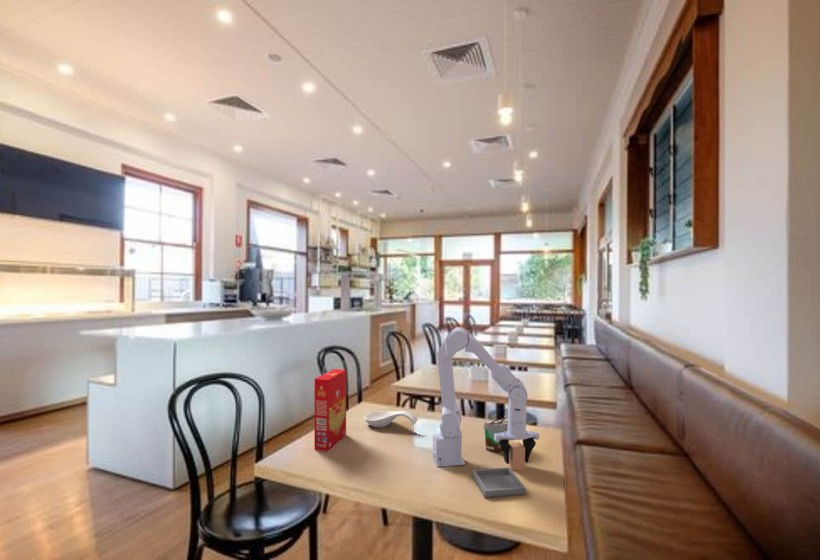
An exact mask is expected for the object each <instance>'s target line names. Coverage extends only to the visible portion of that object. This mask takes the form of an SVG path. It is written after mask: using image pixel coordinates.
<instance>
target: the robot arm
mask: <svg viewBox="0 0 820 560" xmlns="http://www.w3.org/2000/svg"><path fill="white" fill-rule="evenodd" d="M462 350H464V352H465V353H471V354H474V355H475V356H476V357H477V358H478V359H479V360H480V361H481V362H482V363H483V365H485V366H486V367H487V368H488V370H490V377H491V378H492V379H493V380H494V381H495V383H497V385H498V386H499V387H500V388H501V390H503V391H504V392H505V393H507V395H508V405H507V417H508V431H505V432H501V433H496V434H494V440H495V441H496V442H499V443H500V446H501V448H502V451H503V452H502V453H503V459H504V462H505V463H506V465H508V464H509V452H510V447H511V445H510V444H509V443H510V441H522V445H523V446H524V447H525V464H526V463H529V460H530V456H531V454H532V452H533V450H534V448H535V446H536V445H537V444H536V443H537V442H536V441H535V440H540V433H539V432H538V430H537V431H536V430H535V431H533V430H527V406H526V405H527V400H528V397H529V395H528V392H527V389H526V385H525V384H524V383H523V381H521V379H520V378H519V377H516V376H515V375H514V374H513V372H512V371H510V370H511V368H510V367H509V365H505V364H504V363H498V362H497V361H496V360H495V359H494V358H493V356H492V355H491V354H490V353H489V352H488V350H487V349H486V348H485V347H484V346H483V345H482V343H481V342H480V341H479V340H478V339H477V338H476V337H475V336H474V335H473V334H472V333H469V332H468V330H467V329H466V328H465V327H462V326H457V327H455V328H453V329H452V330H451V331H450V332H448V334H447V335H446V337H445V338H444V340H443V342H442V344H441V346H440V347H439V349H438V351H437V353H436V356H437V369H438V376H439V386H440V387H439V388H440V389H439V390H440V397H441V399H440V400H441V423H440V426H439V429H440V431H439V432H438V433H435V434H433V435H432V459H433V460H434V463H435V466H436V467H449V466H450V467H453V466H465V465H466V462H465V461H464V459H463V457H462V453H463V452H462V450H463V449H462V446H463V445H462V441H463V440H462V439H463V435H462V434H463V433H462V431H461V429H460V426H461V423H462V415H461V414H460V412H459V410H458V404H457V398H456V389H455V378H454V367H453V357H454V356H455V355H456V354H457V353H459V352H460V351H462ZM508 440H509V442H508Z"/></svg>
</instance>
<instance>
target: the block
mask: <svg viewBox="0 0 820 560" xmlns="http://www.w3.org/2000/svg"><path fill="white" fill-rule="evenodd" d="M509 444H510V445H511V447H510V452H509V464H507V465H508V467H509V468H510V469H511V470H512V471H522V470H525V468H526V467H525V466H526V462H525V447H524V446H523V443H521V442H509Z"/></svg>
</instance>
